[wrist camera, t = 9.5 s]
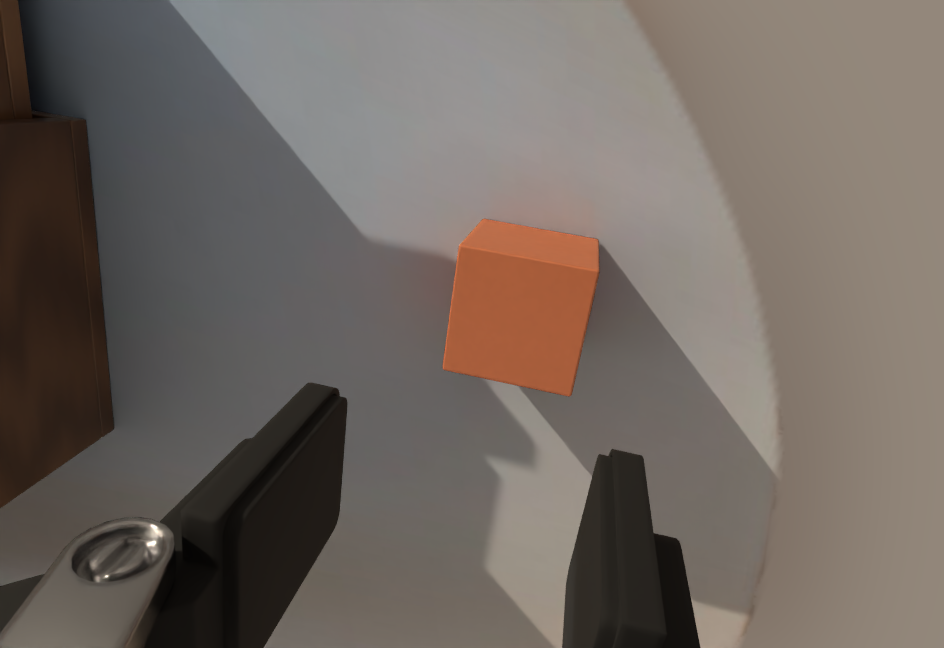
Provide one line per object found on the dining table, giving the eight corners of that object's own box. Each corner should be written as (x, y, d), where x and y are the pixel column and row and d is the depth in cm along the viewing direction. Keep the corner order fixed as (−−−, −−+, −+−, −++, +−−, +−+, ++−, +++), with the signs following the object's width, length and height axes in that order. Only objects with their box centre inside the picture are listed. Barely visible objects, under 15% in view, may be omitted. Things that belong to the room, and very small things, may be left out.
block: (482, 218, 23) (458, 244, 19) (598, 238, 23) (600, 270, 19) (466, 325, 25) (441, 370, 21) (575, 347, 24) (571, 397, 20)
